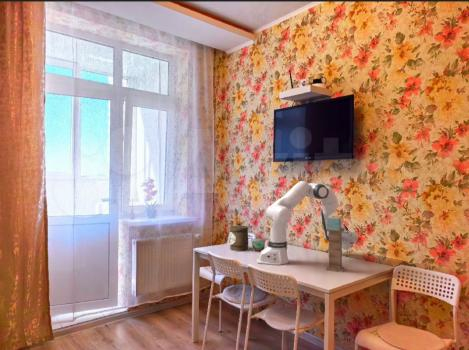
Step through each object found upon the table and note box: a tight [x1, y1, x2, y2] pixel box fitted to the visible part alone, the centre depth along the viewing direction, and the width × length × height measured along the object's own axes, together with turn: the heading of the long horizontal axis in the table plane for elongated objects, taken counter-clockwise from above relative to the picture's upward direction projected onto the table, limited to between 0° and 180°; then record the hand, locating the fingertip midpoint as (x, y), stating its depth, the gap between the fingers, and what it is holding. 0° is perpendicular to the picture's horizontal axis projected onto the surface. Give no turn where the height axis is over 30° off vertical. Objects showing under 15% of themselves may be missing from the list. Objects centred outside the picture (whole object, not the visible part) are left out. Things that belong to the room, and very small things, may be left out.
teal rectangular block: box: [327, 216, 343, 231], centre depth 211 cm, size 20×7×7 cm, turn 152°
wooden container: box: [229, 221, 249, 252], centre depth 269 cm, size 15×15×22 cm
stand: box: [325, 228, 346, 273], centre depth 209 cm, size 7×10×26 cm
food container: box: [250, 238, 267, 253], centre depth 261 cm, size 12×6×10 cm, turn 105°
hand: (340, 230), depth 225 cm, fingers open, 8 cm apart
